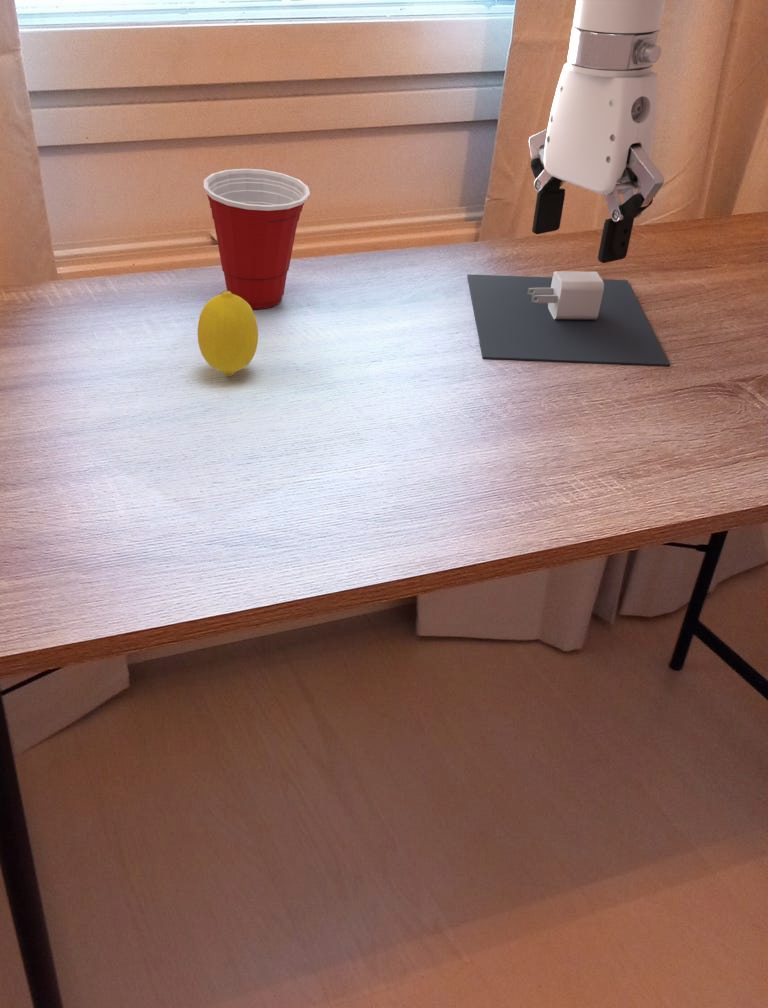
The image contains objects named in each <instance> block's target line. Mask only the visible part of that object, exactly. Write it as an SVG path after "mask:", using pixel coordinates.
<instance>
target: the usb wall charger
mask: <svg viewBox="0 0 768 1008" xmlns="http://www.w3.org/2000/svg"><path fill="white" fill-rule="evenodd" d="M552 277H553V278H552V284H551V288H529V289H528V295H536V296H532V301H531V302H536V303H548V308H549V311H550V313H551V314H552V316H553V318H554V319H573V320H596V319H597V317H598V314H599V309H600V304H601V300H602V295H603V290H604V282H603V280H602V279H603V278H602V277H601V276H600V274H599V273H598V272H597V271H574V270H573V271H567V270H565V271H564V270H563V271H560V270H557V271H553V273H552ZM532 289H533V290H534V292H533V293H530V290H532ZM535 297H538V300H537V301H534V298H535Z"/></svg>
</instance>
